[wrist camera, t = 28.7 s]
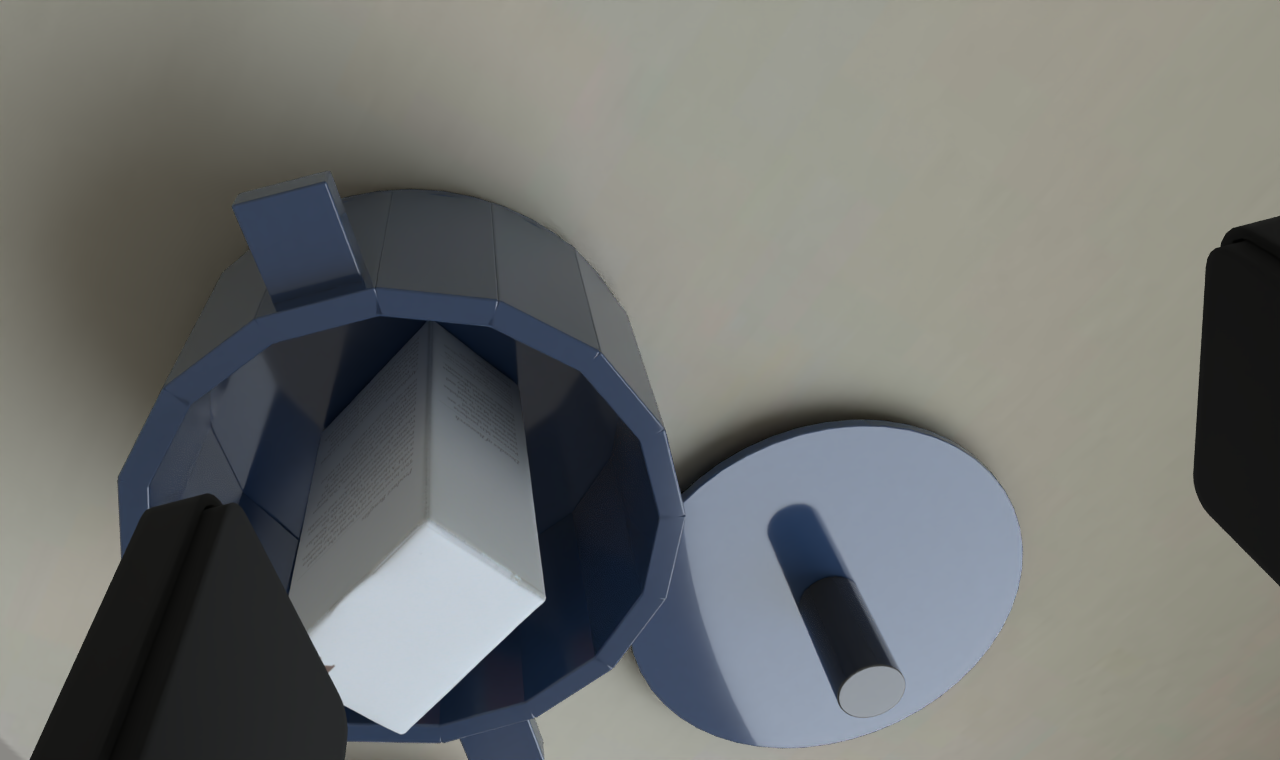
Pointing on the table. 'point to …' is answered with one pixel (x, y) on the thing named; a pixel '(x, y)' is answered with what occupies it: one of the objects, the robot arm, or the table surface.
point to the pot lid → (831, 584)
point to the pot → (360, 348)
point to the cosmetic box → (418, 531)
